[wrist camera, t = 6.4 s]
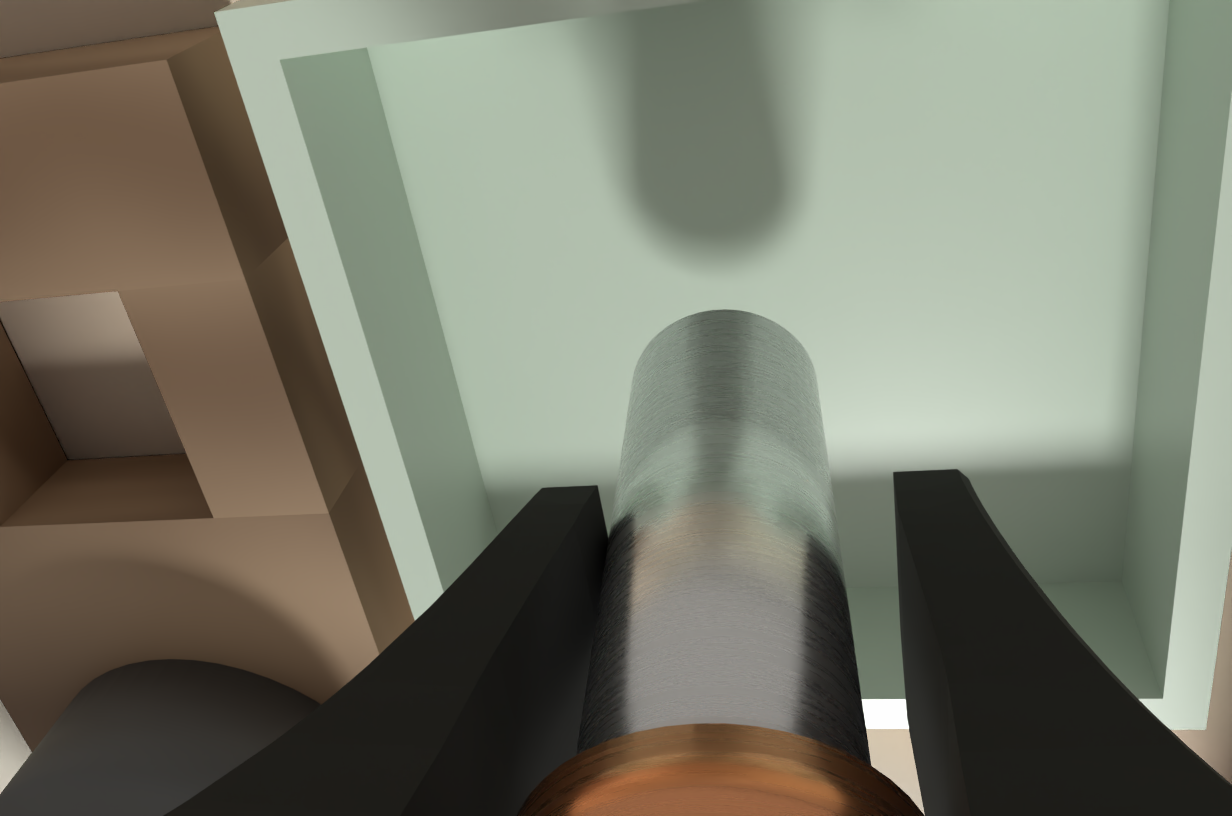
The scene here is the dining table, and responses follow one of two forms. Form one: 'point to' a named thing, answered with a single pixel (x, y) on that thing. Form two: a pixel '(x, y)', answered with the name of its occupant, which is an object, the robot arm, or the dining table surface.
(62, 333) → the dining table surface
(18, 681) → the tensioner board
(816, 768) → the lock pin
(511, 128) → the tray
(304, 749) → the robot arm
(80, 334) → the dining table surface
